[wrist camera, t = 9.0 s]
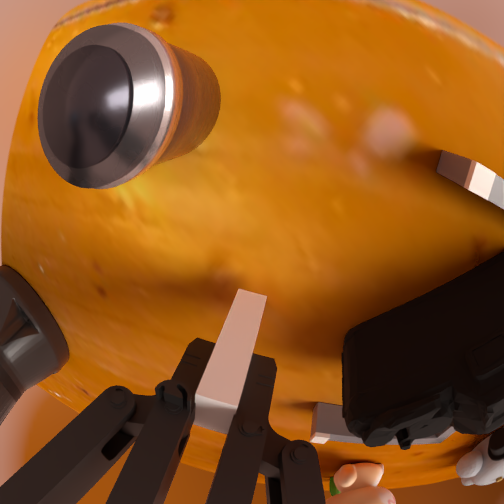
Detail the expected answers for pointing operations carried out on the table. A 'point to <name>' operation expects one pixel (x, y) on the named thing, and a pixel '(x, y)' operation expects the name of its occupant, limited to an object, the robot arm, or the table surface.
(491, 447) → the figurine
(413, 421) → the film camera
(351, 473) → the kitten
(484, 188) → the bracket
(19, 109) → the table surface
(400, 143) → the table surface
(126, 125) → the lens
